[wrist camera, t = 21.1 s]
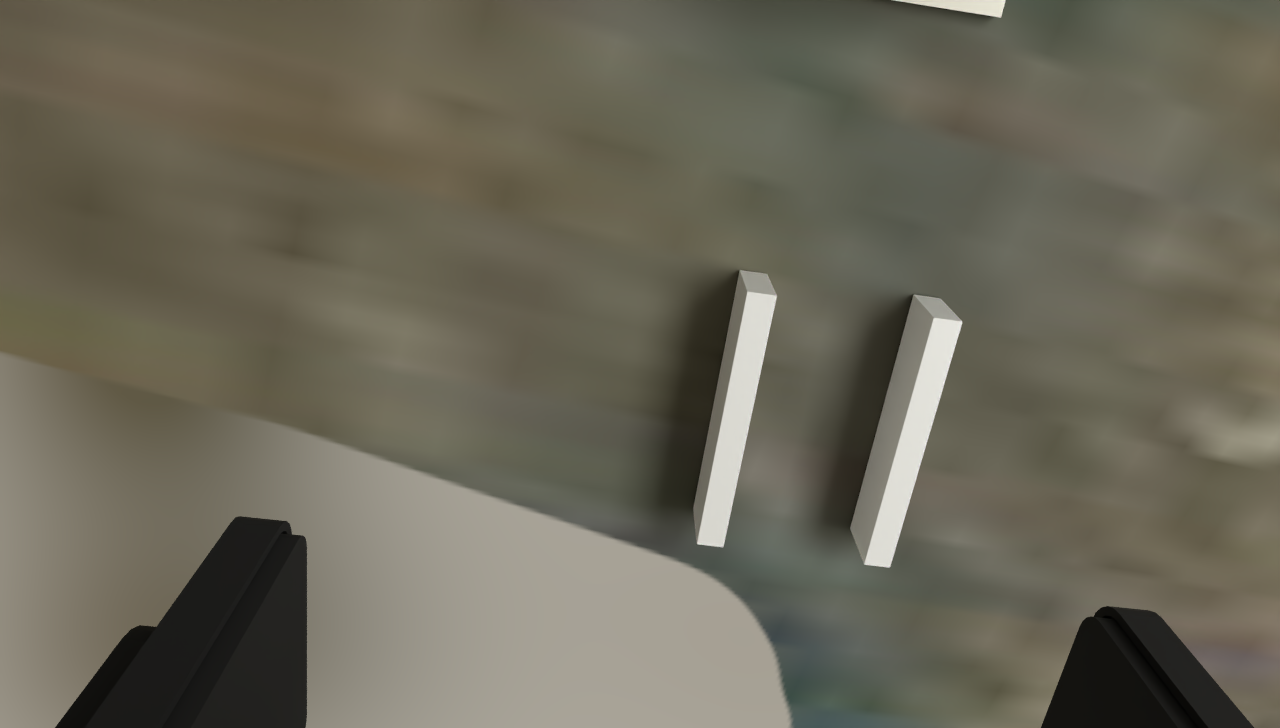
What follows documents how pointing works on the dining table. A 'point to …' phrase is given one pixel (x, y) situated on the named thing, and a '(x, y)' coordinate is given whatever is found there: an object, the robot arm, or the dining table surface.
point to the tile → (965, 5)
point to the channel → (896, 435)
